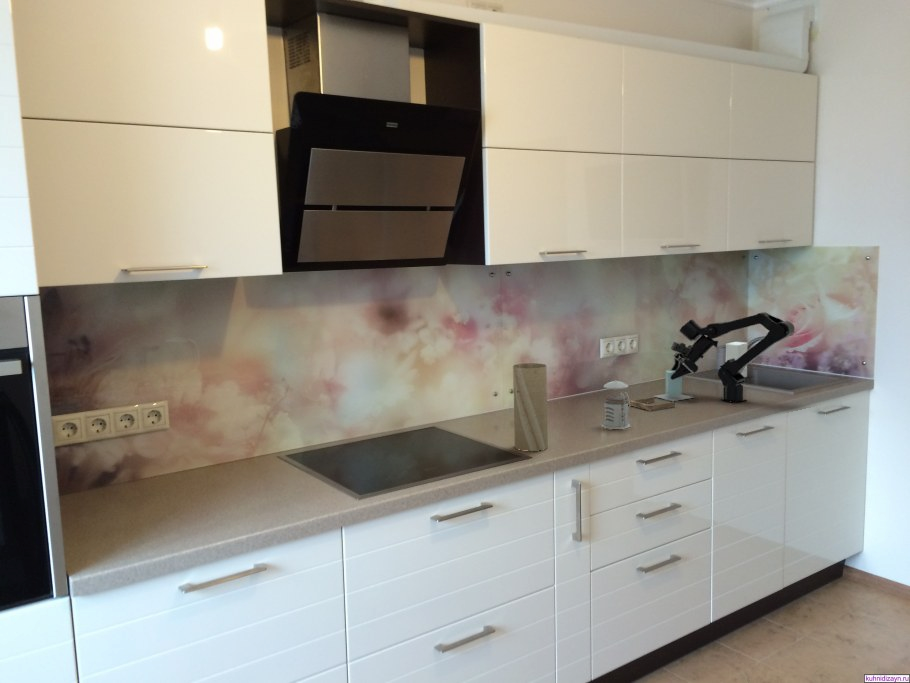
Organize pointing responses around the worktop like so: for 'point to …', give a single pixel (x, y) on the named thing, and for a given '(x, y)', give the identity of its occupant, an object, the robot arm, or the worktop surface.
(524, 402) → the tube
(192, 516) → the worktop surface
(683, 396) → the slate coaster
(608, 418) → the french press
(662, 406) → the walnut holder
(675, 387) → the grey-teal block
